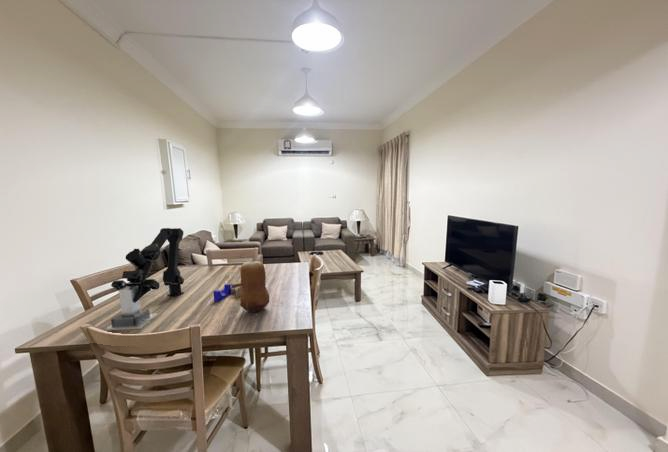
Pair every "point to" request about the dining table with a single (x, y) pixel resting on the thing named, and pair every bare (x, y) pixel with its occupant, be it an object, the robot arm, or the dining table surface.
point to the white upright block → (129, 302)
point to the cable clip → (222, 293)
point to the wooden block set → (236, 288)
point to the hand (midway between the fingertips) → (128, 302)
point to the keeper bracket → (131, 321)
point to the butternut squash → (253, 286)
